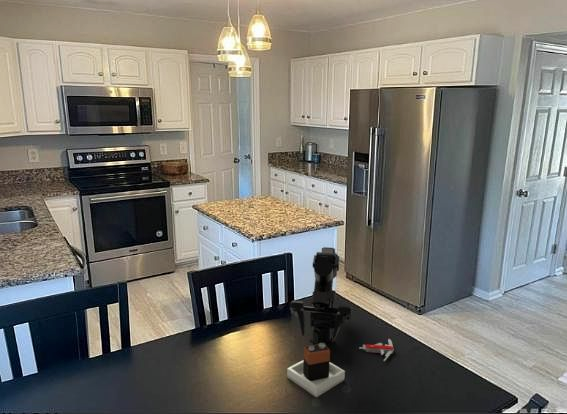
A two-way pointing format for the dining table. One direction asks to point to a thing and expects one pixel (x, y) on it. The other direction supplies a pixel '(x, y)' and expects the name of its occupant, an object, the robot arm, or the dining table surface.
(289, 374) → the parts tray
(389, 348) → the swiss army knife
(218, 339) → the dining table surface
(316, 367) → the battery
